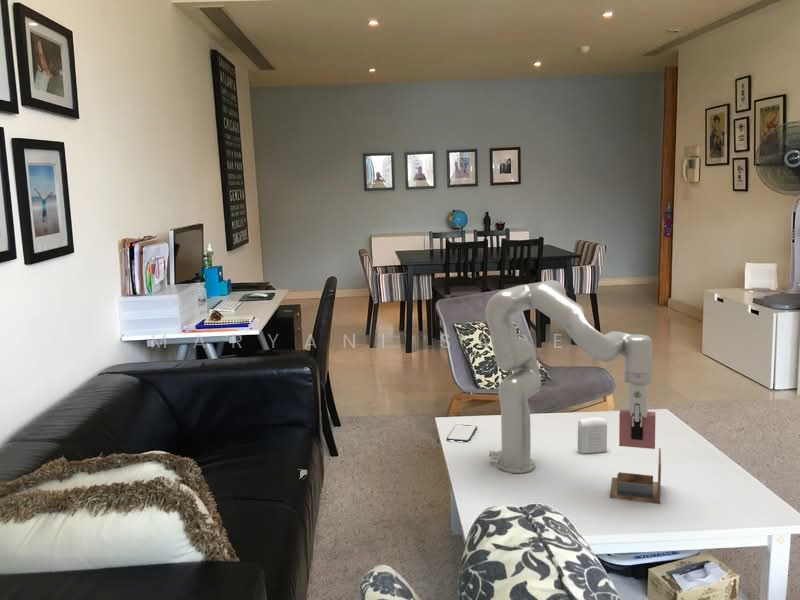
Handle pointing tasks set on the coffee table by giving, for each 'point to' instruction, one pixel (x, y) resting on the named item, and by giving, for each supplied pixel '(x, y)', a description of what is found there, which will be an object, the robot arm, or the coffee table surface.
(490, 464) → the coffee table surface
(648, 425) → the book
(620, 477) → the shelf
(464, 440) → the phone case
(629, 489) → the bookend
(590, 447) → the photo printer
